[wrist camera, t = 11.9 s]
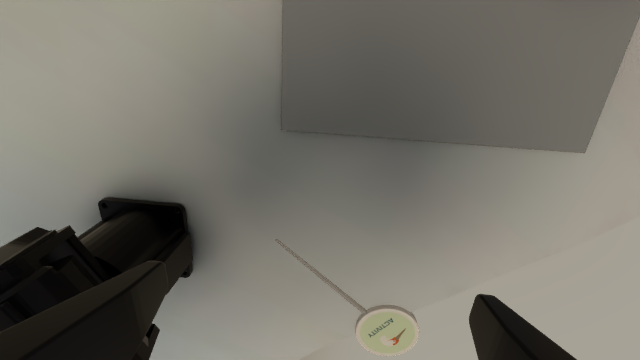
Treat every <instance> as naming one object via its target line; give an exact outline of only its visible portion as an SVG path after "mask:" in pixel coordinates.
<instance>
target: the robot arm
mask: <svg viewBox="0 0 640 360" xmlns="http://www.w3.org/2000/svg"><path fill="white" fill-rule="evenodd" d="M105 203H106V204H107V205H108V206H107V205H106V204H105ZM98 206H99V210H100V214H101V218H102V221H100V222H99V223H98V224H96V225H95V226H93V227H92V228H90V229H89V230H87V231H86V232H84V233H83V234H81V235H80V236H78V237H77V236H76V235H75V233H76V232H75V231H74V230H73V229H72V228H71V227H70V225H69V226H67V227H65V228H63V229H61V230H59V231H56V230H53V231H52V230H51V231H48V230H45V229H42V228H39V227H36V228H35V229H33V230H31V231H29V232H27V233H25V234H23V235H22V236H20V237H18V238H16V239H15V240H13V241H11V242H9V243H7V244H6V245H4V246H2V247H0V360H149V358H150V355H151V352H152V350H153V347H154V344H155V342H156V339H157V336H158V334H159V331H160V330H159V328H158V327H157V326H156V325H155V324H152V321H153V319H154V317H155V315H156V313H157V311H158V309H159V307H160V305H161V303H162V301H163V299H164V297H165V295H166V294H168V292H169V291H170V290H171V288H172V287H173V286H174V284H175V283H176V282H177V280H178V279H179V277H184V278H187V277H189V276H190V274H191V273H192V262H191V261H192V260H193V256H192V247H191V239H190V233H189V232H188V228H187V220H186V212H185V208H184V207H183V206H182V205H180V204H172V203H161V202H150V201H139V200H128V199H117V198H104V199H102V200H101V201H99V203H98ZM176 210H178V211H179V213H178V212H176ZM185 271H187V272H185ZM469 324H470V328H471V332H472V336H473V340H474V344H475V348H476V352H477V356H478V359H479V360H576V359H575V358H574V357H573V356H571V355H570V354H569V353H568V352H566V351H565V350H564V349H562V348H561V347H560V346H558V345H557V344H556V343H555V342H553V341H552V340H551V339H549V338H548V337H547V336H545V335H544V334H543V333H542V332H540V331H539V330H538V329H536V328H535V327H534V326H532V325H531V324H530V323H528V322H527V321H526V320H525V319H523V318H522V317H521V316H519V315H518V314H517V313H516V312H514V311H513V310H512V309H510V308H509V307H508V306H506V305H505V304H504V303H503V302H501V301H500V300H499V299H497V298H496V297H495V296H492V295H484V294H479V295H477V296H476V297H475V300H474V303H473V307H472V309H471V313H470V316H469Z"/></svg>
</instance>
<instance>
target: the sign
mask: <svg viewBox="0 0 640 360" xmlns="http://www.w3.org/2000/svg"><path fill="white" fill-rule="evenodd" d="M276 241H277V242H278V243H279V244H280V245H281V246H283V247H284V248H285V249H286V250H287V251H289V252H290V253H291V254H292V255H293V256H294V257H296V258H297V259H298V260H299V261H301V262H302V263H303V264H304V265H305V266H307V267H308V268H309V269H310V270H311V271H313V272H314V273H315V274H316V275H317V276H319V277H320V278H321V279H322V280H323V281H325V282H326V283H327V284H328V285H330V286H331V287H332V288H333V289H334V290H336V291H337V292H338V293H339V294H340V295H342V296H343V297H344V298H345V299H346V300H348V301H349V302H350V303H351V304H353V305H354V306H355V307H356V308H357V309H359V310H360V311H361V312H362V313H363V314H362V315H361V316H360V317H359V319H358V320H357V323H356V336H357V339H358V341H359V343H360V344H361V345H362V346H363V347H364V348H365V349H366V350H368V351H369V352H371V353H374V354H377V355H383V356H393V355H398V354H401V353H404V352H406V351H408V350H409V349H411V348H412V347H413V346H414V344H415V343H416V341H417V340H418V337H419V328H418V325H417V321H416V318H415V316H414V314H413V313H412V312H411V313H409V312H408V311H407V310H405V309H403V308H400V307H397V306H392V305H381V306H376V307H373V308H370V309H368V310H367V311H366V310H365V309H364V308H363V307H362V306H360V305H359V304H358V303H357V302H355V301H354V300H353V299H352V298H350V297H349V296H348V295H347V294H345V293H344V292H343V291H342V290H341V289H339V288H338V287H337V286H336V285H334V284H333V283H332V282H331V281H329V280H328V279H327V278H326V277H324V276H323V275H322V274H321V273H319V272H318V271H317V270H316V269H314V268H313V267H312V266H310V265H309V264H308V263H307V262H305V261H304V260H303V259H302V258H300V257H299V256H298V255H297V254H295V253H294V252H293V251H292V250H290V249H289V248H288V247H286V246H285V245H284V244H283V243H281V242H280V241H279V240H277V239H276Z"/></svg>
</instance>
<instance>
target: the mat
mask: <svg viewBox="0 0 640 360" xmlns="http://www.w3.org/2000/svg"><path fill="white" fill-rule="evenodd" d="M639 17H640V0H283V10H282V103H281V130H287V131H300V132H313V133H326V134H340V135H353V136H366V137H379V138H392V139H405V140H418V141H431V142H444V143H457V144H470V145H483V146H496V147H509V148H522V149H535V150H549V151H562V152H575V153H585V152H586V149H587V147H588V144H589V142H590V139H591V137H592V134H593V132H594V129H595V127H596V124H597V122H598V119H599V117H600V114H601V112H602V109H603V107H604V104H605V102H606V99H607V97H608V94H609V92H610V89H611V87H612V84H613V82H614V79H615V77H616V74H617V72H618V69H619V67H620V64H621V62H622V59H623V57H624V54H625V52H626V49H627V47H628V44H629V42H630V39H631V37H632V34H633V32H634V29H635V27H636V24H637V22H638V19H639Z"/></svg>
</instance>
